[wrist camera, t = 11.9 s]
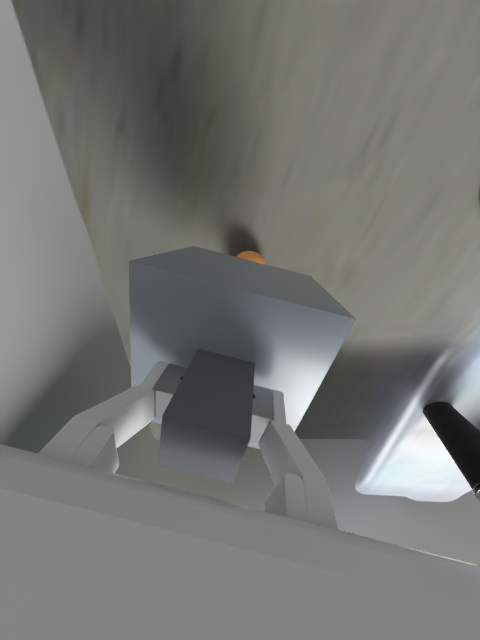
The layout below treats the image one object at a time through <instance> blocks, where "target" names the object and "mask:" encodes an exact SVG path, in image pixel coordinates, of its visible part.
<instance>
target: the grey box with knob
mask: <svg viewBox="0 0 480 640" xmlns="http://www.w3.org/2000/svg"><path fill="white" fill-rule="evenodd" d="M129 285H130V340H131V388H132V387H134V386H140V384H141V383H142V382H143V380H144V379H145V378H146V376H147V375H148V374H149V372H150V371H151V370H152V368H153V367H154V365H155V364H156V363H157V362H158V361H163V362H166V363H171V364H174V365H178V366H181V367H185V368H188V369H187V371H186V373H185V374H184V376H183V378H182V380H181V382H180V384H179V386H178V387H177V389H176V391H175V393H174V395H173V397H172V399H171V400H170V402H169V404H168V406H167V408H166V410H165V411H164V413H163V415H162V419H159V418H155V419H154V420H152V421H151V422H155V423H159V424H162V426H161V439H160V451H159V463H158V466H160V467H165V468H168V469H172V470H176V471H180V472H184V473H189V474H192V475H196V476H200V477H204V478H208V479H212V480H216V481H220V482H224V483H228V484H232V483H233V480H234V478H235V476H236V473H237V470H238V468H239V466H240V463H241V461H242V458H243V456H244V453H245V451H246V448H247V446H250V447H254V448H258V449H260V447H259V444H258V443H254V442H251V441H250V438H251V423H252V405H253V387H254V385H256V386H260V387H265V388H269V389H273V390H277V391H281V392H283V394H284V404H285V414H286V424H288V425H290V426H291V428H292V429H293V431H294V432H295V430H296V428H297V426H298V424H299V422H300V421H301V419H302V417H303V415H304V413H305V411H306V410H307V408H308V406H309V404H310V402H311V400H312V399H313V397H314V395H315V393H316V391H317V389H318V388H319V386H320V384H321V382H322V380H323V379H324V377H325V375H326V373H327V371H328V369H329V368H330V366H331V364H332V362H333V360H334V358H335V357H336V355H337V353H338V351H339V349H340V347H341V346H342V344H343V342H344V340H345V338H346V336H347V335H348V333H349V331H350V329H351V327H352V325H353V324H354V322H355V320H356V319H355V318H354V317H353V316H352V315H351V314H350V313H349V312H348V311H347V310H346V309H345V308H344V307H343V306H342V305H341V304H340V303H339V302H337V301H336V300H335V299H334V298H333V297H332V296H331V295H330V294H329V293H328V292H327V291H326V290H325V289H324V288H323V287H322V286H321V285H320V284H318V283H317V282H316V281H315V280H314V279H313V278H312V277H311V276H308V275H304V274H300V273H297V272H293V271H289V270H285V269H281V268H277V267H273V266H269V265H265V264H261V263H257V262H254V261H250V260H246V259H242V258H238V257H234V256H230V255H226V254H222V253H218V252H215V251H211V250H207V249H203V248H199V247H195V246H192V247H187V248H183V249H179V250H174V251H170V252H166V253H162V254H157V255H153V256H149V257H144V258H140V259H136V260H131V261H129Z"/></svg>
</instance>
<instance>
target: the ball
mask: <svg viewBox="0 0 480 640" xmlns="http://www.w3.org/2000/svg"><path fill="white" fill-rule="evenodd" d="M236 257H238V258H242V259H246V260H250V261H254V262H257V263H261V264H265V265H266V263H265V261H264V259H263V257H262V256H261V255H260V254H258V253H256V252H254V251H244V252H242V253H240V254H238V255H237V256H236Z"/></svg>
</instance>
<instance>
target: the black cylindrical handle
mask: <svg viewBox="0 0 480 640" xmlns="http://www.w3.org/2000/svg"><path fill="white" fill-rule="evenodd" d="M423 413H424V415H425V416H426V418H427V419H428V421H429V423H430V424H431V426H432V427H433V429H434V430H435V432H436V433H437V435H438V437H439V438H440V440H441V441H442V443H443V444H444V446H445V447H446V449H447V450H448V452H449V454H450V455H451V457H452V458H453V460H454V461H455V463H456V464H457V466H458V467H459V469H460V471H461V472H462V474H463V475H464V477H465V478H466V480H467V481H468V483H469V484H470V486H471V488H472V489H473V494H474V496H475V497H476V498H477V499H478V500H480V431H479V430H478V429H477V428H475V427H474V426H473V425H472V424H471V423H470V422H469V421H468V420H467V419H465V418H464V417H463V416H462V415H461V414H460V413H459V412H458V411H457V410H455V409H454V408H453V407H452V406H451V405H450V404H448V403H445V402H437V403H433V404H430V405H428V406H427V407H426V408H425V409H424V411H423Z"/></svg>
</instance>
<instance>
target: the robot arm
mask: <svg viewBox="0 0 480 640" xmlns="http://www.w3.org/2000/svg"><path fill="white" fill-rule="evenodd" d="M187 369H188V368H185V367H181V366H178V365H174V364H171V363H166V362H163V361H158V362H157V363H156V364H155V365H154V367H153V368H152V370H151V371H150V372H149V374H148V375H147V376H146V378H145V379H144V380H143V382H142V383H141V384H140V386H134V387H132V388H130V389H129V390H126V391H124V392H123V393H120V394H118V395H116V396H114V397H113V398H110V399H108V400H107V401H104V402H102V403H100V404H98V405H96V406H94V407H92V408H90V409H88V410H86V411H84V412H82V413H80V414H78V415H76V416H74V417H73V418H72V419H71V420H70V421H69V422H68V423H67V424H66V425H65V426H64V427H63V428H62V429H61V430H60V431H59V432H58V433H57V435H56V436H55V437H54V438H53V439H52V440H51V441H50V442H49V443H48V444H47V445H46V446H45V447H44V448H43V449H42V450H41V451H40V453H38V454H36V453H32V452H28V451H23V450H20V449H16V448H12V447H8V446H4V445H0V640H480V566H479V565H475V564H471V563H467V562H463V561H460V560H456V559H451V558H448V557H444V556H440V555H435V554H432V553H428V552H424V551H420V550H416V549H412V548H408V547H404V546H400V545H396V544H392V543H388V542H384V541H380V540H376V539H372V538H369V537H364V536H360V535H357V534H353V533H349V532H345V531H341V530H338V528H337V523H336V519H335V514H334V510H333V505H332V501H331V496H330V492H329V487H328V483H327V481H326V479H325V477H324V476H323V475H322V473H321V472H320V470H319V468H318V467H317V465H316V464H315V462H314V461H313V459H312V458H311V456H310V455H309V454H308V452H307V450H306V449H305V447H304V446H303V444H302V443H301V441H300V440H299V438H298V437H297V435H296V434H295V432H294V431H293V429H292V428H291V426H290V425H288V424H286V414H285V404H284V394H283V392H281V391H277V390H273V389H269V388H265V387H260V386H256V385H254V387H253V405H252V423H251V438H250V441H251V442H254V443H258V444H259V447H260V450H261V452H262V455H263V457H264V460H265V462H266V465H267V467H268V469H269V472H270V474H271V476H272V479H273V481H274V484H275V487H276V488H275V489H274V491H273V492H272V493H271V495H270V496H269V497H268V499H267V500H266V501H265V511H262V510H258V509H254V508H249V507H246V506H242V505H238V504H234V503H230V502H226V501H221V500H218V499H214V498H210V497H206V496H202V495H198V494H194V493H190V492H186V491H182V490H179V489H174V488H170V487H167V486H163V485H159V484H155V483H151V482H147V481H143V480H139V479H135V478H131V477H127V476H123V475H119V474H115V472H116V470H117V468H118V466H119V461H118V455H117V450H116V448H118V447H119V446H120V445H121V444H123V443H124V442H125V441H126V440H128V439H129V438H130V437H132V436H133V435H134V434H136V433H137V432H138V431H139V430H140V429H142V428H143V427H145V426H146V425H147V424H148V423H150V422H151V421H152V420H154V419H155V418H159V419H162V415H163V413H164V411H165V410H166V408H167V406H168V404H169V402H170V400H171V399H172V397H173V395H174V393H175V391H176V389H177V387H178V386H179V384H180V382H181V380H182V378H183V376H184V374H185V373H186V371H187Z"/></svg>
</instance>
